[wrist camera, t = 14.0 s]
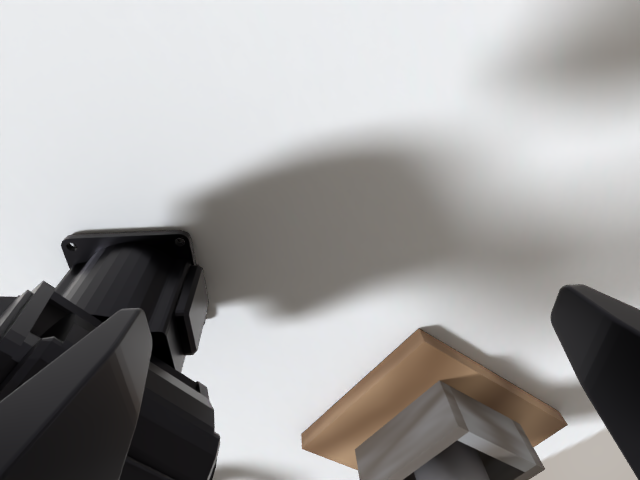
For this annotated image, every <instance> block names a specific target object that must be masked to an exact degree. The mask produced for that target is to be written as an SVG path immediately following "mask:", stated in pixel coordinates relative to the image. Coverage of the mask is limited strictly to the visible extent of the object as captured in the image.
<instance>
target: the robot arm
mask: <svg viewBox="0 0 640 480" xmlns="http://www.w3.org/2000/svg"><path fill="white" fill-rule="evenodd" d="M177 238H182V239H183V240H184V241H185V242H179V241H178V240H177ZM70 243H74V244H75V245H76V246H77V247H73V246H72V245H71V244H70ZM61 247H62V250H63V252H64V255H65V258H66V260H67V263H68V266H69V268H70V270H69V271H68V273H67V274H66V275H65V276H64V278H63V279H62V280H61V282H60V283H59V284H58V285H57V287H56V288H54V287H52V286H51V285H49V284H48V283H46V282H45V281H42V282H41V283H40V284H39V285H38V286H37V287H36V288H35V289H34V290H32V291H31V292H30V291H29V290H27V291H26V292H24V293H23V294H22V295H21V296H20V295H19V296H18V297H0V480H212V478H213V475H214V471H215V468H216V462H217V455H218V451H219V446H220V436H219V434H217V433H216V432H214V409H213V407H212V405H211V403H210V401H209V396H208V390H207V387H206V386H204V385H203V384H201V383H200V382H198V381H197V382H194V381H192V380H191V379H189V378H188V377H186V376H185V375H183V374H182V373H181V371H182V367H183V363H184V359H185V356H186V355H194V353H195V352H196V351H197V350H198V345H199V341H200V337H201V333H202V328H203V325H204V324H205V320H206V311H207V307H208V303H209V301H208V296H207V290H206V285H205V279H204V274H203V269H202V268H201V267H200V266H199V265H196V262H195V256H194V251H193V246H192V241H191V237H190V235H189V234H188V233H187V232H185V231H182V230H172V231H149V232H125V233H102V234H78V235H69V236H67V237H66V238H65V239H64V240H63V241H62V243H61ZM551 323H552V326H553V328H554V330H555V332H556V334H557V336H558V338H559V340H560V342H561V345H562V347H563V349H564V351H565V353H566V355H567V357H568V359H569V361H570V363H571V365H572V367H573V370H574V372H575V374H576V376H577V378H578V380H579V382H580V384H581V385H582V387H583V389H584V391H585V393H586V394H587V396H588V398H589V399H590V401H591V403H592V404H593V406H594V408H595V409H596V411H597V412H598V414H599V416H600V417H601V419H602V421H603V422H604V424H605V426H606V427H607V429H608V431H609V432H610V434H611V435H612V437H613V439H614V440H615V442H616V444H617V445H618V447H619V449H620V450H621V452H622V453H623V455H624V457H625V459H626V460H627V462H628V463H629V465H630V467H631V468H632V470H633V471H634V473H635V475H636V477H637V478H638V480H640V310H639V309H637V308H634V307H632V306H630V305H628V304H625V303H623V302H621V301H619V300H617V299H614V298H612V297H610V296H608V295H605V294H603V293H601V292H599V291H597V290H594V289H592V288H590V287H588V286H585V285H581V284H578V285H565V286H563V287H562V288H561V289H560V291H559V293H558V296H557V299H556V301H555V304H554V307H553V309H552V312H551Z"/></svg>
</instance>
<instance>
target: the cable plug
mask: <svg viewBox="0 0 640 480" xmlns="http://www.w3.org/2000/svg"><path fill="white" fill-rule="evenodd" d="M414 474H415V478H416V480H490V479H489V477H488V474H487V472H486V470H485V467H484V465H483V462H482V460H481V458H480V455H479V453H478V450H477V449H475V448H473V447H471V446H468V445H466V444H464V443H462V442H460V441H458V440H457V441H456V442H454V443H453V444H451V445H450V446H449V447H447V448H446V449H445V450H443V451H442V452H440V453H439V454H438V455H436V456H435V457H433V458H432V459H431V460H429V461H428V462H427V463H425V464H424V465H422V466H421V467H420V468H418V469H417V470H416V471H414Z"/></svg>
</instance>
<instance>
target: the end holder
mask: <svg viewBox="0 0 640 480" xmlns="http://www.w3.org/2000/svg"><path fill="white" fill-rule="evenodd" d="M567 425H568V424H567V423H566V421H565V420H564V418H563V417H562V415H561V414H560V412H559V411H557V410H556V409H554V408H552V407H551V406H549V405H547V404H546V403H544V402H542V401H540V400H539V399H537V398H535V397H534V396H532V395H530V394H529V393H527V392H525V391H524V390H522V389H520V388H519V387H517V386H515V385H514V384H512V383H510V382H508V381H507V380H505V379H503V378H502V377H500V376H498V375H497V374H495V373H493V372H492V371H490V370H488V369H487V368H485V367H483V366H482V365H480V364H478V363H476V362H475V361H473V360H471V359H470V358H468V357H466V356H465V355H463V354H461V353H460V352H458V351H456V350H455V349H453V348H451V347H449V346H448V345H446V344H444V343H443V342H441V341H439V340H438V339H436V338H434V337H433V336H431V335H429V334H428V333H426V332H424V331H423V330H421V329H418V330H416V331H415V332H414V333H413V334H412V335H411V336H410V337H409V338H408V339H406V340H405V341H404V342H403V343H402V344H401V345H400V346H399V347H398V348H396V349H395V350H394V351H393V352H392V353H391V354H390V355H389V356H388V357H387V358H385V359H384V360H383V361H382V362H381V363H380V364H379V365H378V366H377V367H375V368H374V369H373V370H372V371H371V372H370V373H369V374H368V375H367V376H365V377H364V378H363V379H362V380H361V381H360V382H359V383H358V384H357V385H355V386H354V387H353V388H352V389H351V390H350V391H349V392H348V393H347V394H345V395H344V396H343V397H342V398H341V399H340V400H339V401H338V402H337V403H335V404H334V405H333V406H332V407H331V408H330V409H329V410H328V411H327V412H326V413H324V414H323V415H322V416H321V417H320V418H319V419H318V420H317V421H316V422H314V423H313V424H312V425H311V426H310V427H309V428H308V429H307V430H306V431H304V432H303V433H302V434H301V435H302V449H304V450H306V451H309V452H312V453H314V454H317V455H319V456H322V457H325V458H327V459H330V460H333V461H335V462H338V463H340V464H343V465H346V466H348V467H351V468H353V469H356V470H358V472H359V478H360V480H416V478H415V474H414V471H416V470H417V469H418V468H420V467H421V466H422V465H424V464H425V463H427V462H428V461H429V460H431V459H432V458H433V457H435V456H436V455H438V454H439V453H440V452H442V451H443V450H445V449H446V448H447V447H449V446H450V445H451V444H453V443H454V442H456V441H457V440H458V441H460V442H462V443H464V444H466V445H468V446H471V447H473V448H475V449H477V450H478V453H479V455H480V458H481V460H482V462H483V465H484V467H485V470H486V472H487V474H488V477H489V479H490V480H529V479H530V478H532V477H534V476H535V475H537V474H538V473H540V472H542V471H543V470H544V469H545V468H544V466H543V464H542V462H541V461H540V459H539V457H538V455H537V454H536V452H535V450H534V448H533V447H535V446H536V445H538V444H539V443H541V442H542V441H544V440H545V439H547V438H548V437H550V436H551V435H553V434H555V433H556V432H558V431H559V430H561V429H562V428H564V427H565V426H567Z"/></svg>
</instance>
